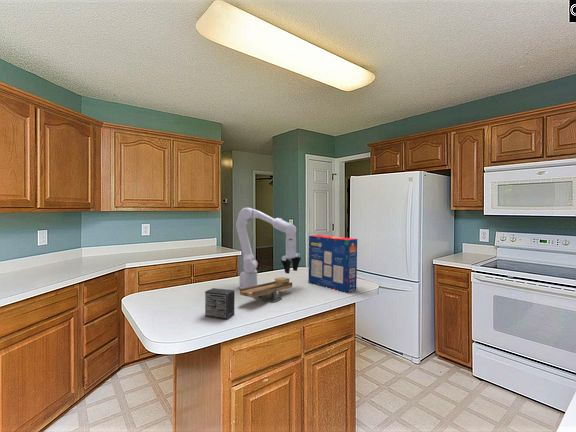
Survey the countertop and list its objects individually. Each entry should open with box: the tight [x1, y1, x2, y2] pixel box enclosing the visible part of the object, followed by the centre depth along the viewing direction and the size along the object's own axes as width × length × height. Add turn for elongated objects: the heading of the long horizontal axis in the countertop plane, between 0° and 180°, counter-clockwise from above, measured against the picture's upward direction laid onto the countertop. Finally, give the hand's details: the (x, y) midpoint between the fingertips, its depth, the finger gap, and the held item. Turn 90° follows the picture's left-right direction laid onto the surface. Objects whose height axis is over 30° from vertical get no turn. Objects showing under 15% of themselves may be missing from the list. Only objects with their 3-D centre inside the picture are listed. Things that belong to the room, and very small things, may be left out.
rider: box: [274, 276, 290, 285], centre depth 157 cm, size 5×6×3 cm
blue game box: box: [307, 234, 358, 294], centre depth 170 cm, size 28×8×28 cm, turn 43°
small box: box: [204, 287, 236, 321], centre depth 124 cm, size 11×6×10 cm, turn 71°
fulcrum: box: [253, 290, 283, 304], centre depth 147 cm, size 12×7×5 cm, turn 56°
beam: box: [239, 280, 293, 299], centre depth 147 cm, size 8×31×2 cm, turn 146°
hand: (291, 271), depth 163 cm, fingers open, 7 cm apart
